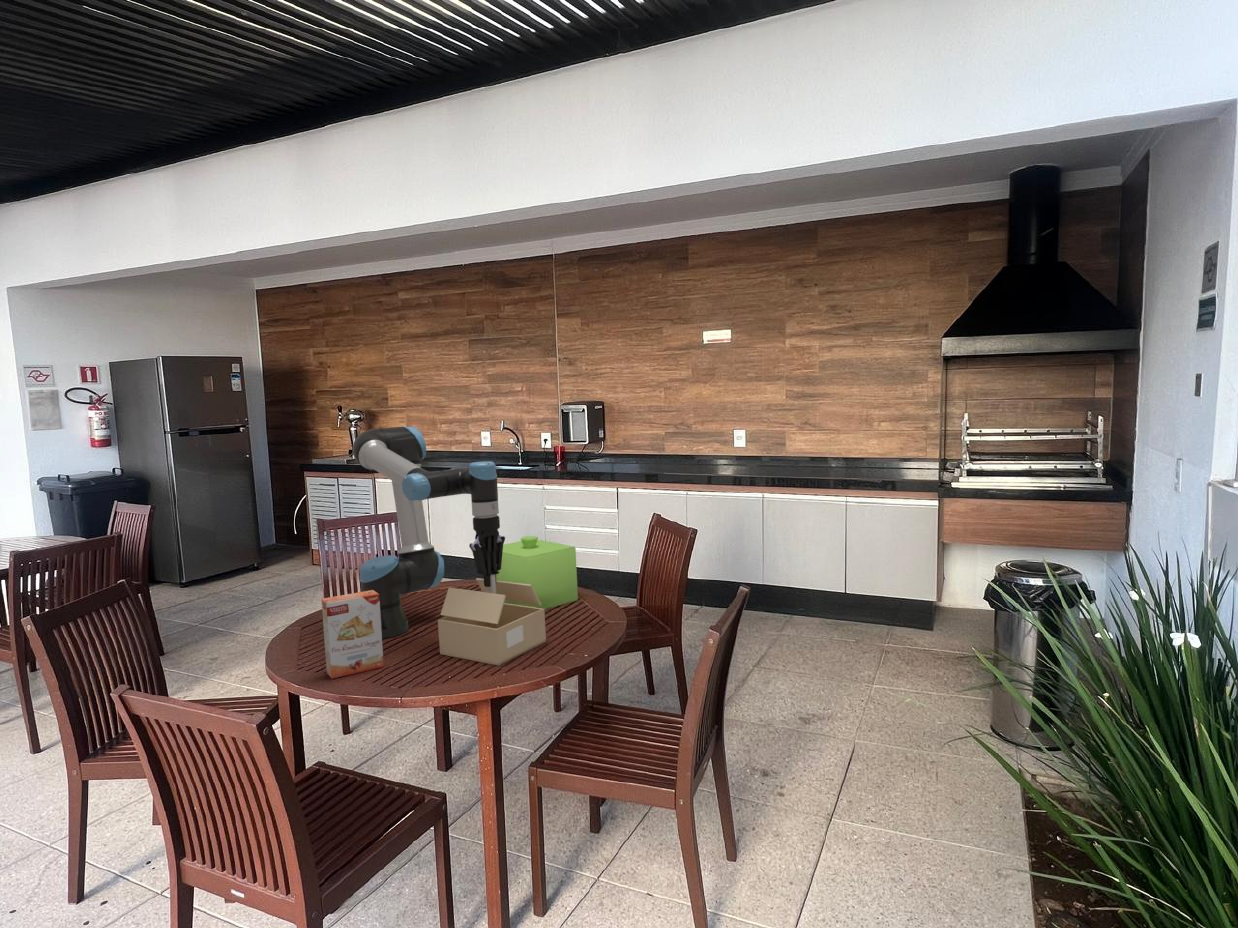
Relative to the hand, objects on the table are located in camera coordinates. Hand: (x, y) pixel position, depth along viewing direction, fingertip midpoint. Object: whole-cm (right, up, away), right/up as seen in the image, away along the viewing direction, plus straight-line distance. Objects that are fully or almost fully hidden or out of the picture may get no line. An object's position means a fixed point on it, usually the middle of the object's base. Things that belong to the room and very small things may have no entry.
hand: (491, 596), depth 212 cm
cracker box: (-35, -18, -12) cm, 41 cm away
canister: (+6, -11, +51) cm, 52 cm away
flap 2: (+5, -4, +9) cm, 11 cm away
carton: (+1, -15, +2) cm, 15 cm away
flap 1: (-5, -6, -8) cm, 11 cm away
